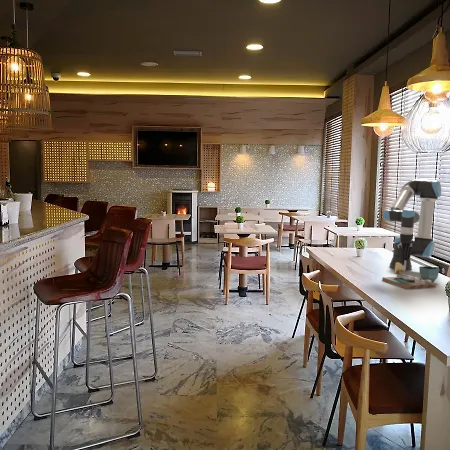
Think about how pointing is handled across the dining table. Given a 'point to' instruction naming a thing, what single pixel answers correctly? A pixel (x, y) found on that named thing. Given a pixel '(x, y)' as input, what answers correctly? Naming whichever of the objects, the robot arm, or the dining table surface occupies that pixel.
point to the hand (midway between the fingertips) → (403, 270)
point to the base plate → (409, 283)
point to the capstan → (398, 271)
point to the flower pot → (428, 273)
